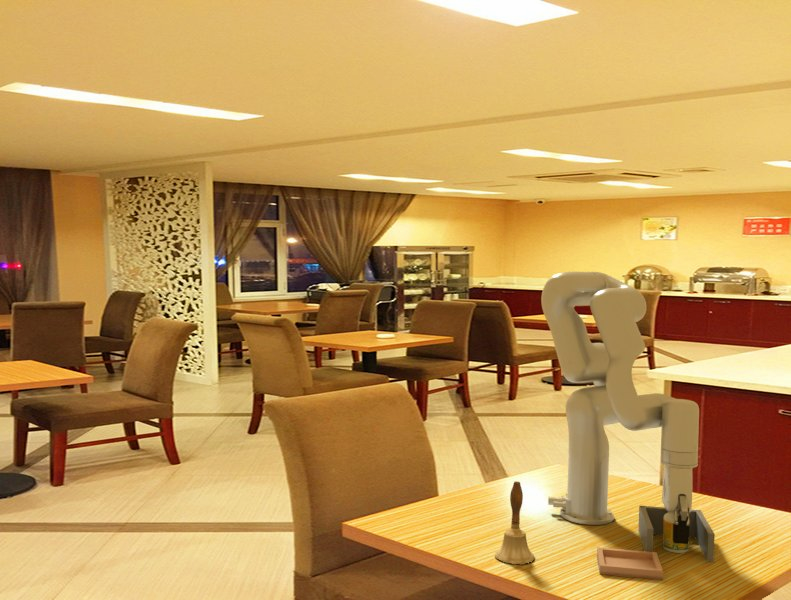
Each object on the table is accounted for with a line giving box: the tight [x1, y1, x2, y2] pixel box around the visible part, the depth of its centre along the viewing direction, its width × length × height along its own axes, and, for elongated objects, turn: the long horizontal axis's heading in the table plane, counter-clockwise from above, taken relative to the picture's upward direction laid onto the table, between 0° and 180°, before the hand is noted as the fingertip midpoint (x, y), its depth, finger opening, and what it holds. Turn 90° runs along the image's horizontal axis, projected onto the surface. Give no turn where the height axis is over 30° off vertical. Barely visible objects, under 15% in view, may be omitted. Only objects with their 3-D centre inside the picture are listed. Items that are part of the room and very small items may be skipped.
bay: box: [637, 505, 716, 563], centre depth 173 cm, size 13×16×6 cm
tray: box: [596, 546, 664, 581], centre depth 160 cm, size 12×10×2 cm
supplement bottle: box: [662, 509, 690, 554], centre depth 171 cm, size 5×5×10 cm
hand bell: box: [494, 481, 536, 565], centre depth 164 cm, size 8×8×16 cm
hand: (677, 535), depth 170 cm, fingers open, 9 cm apart
